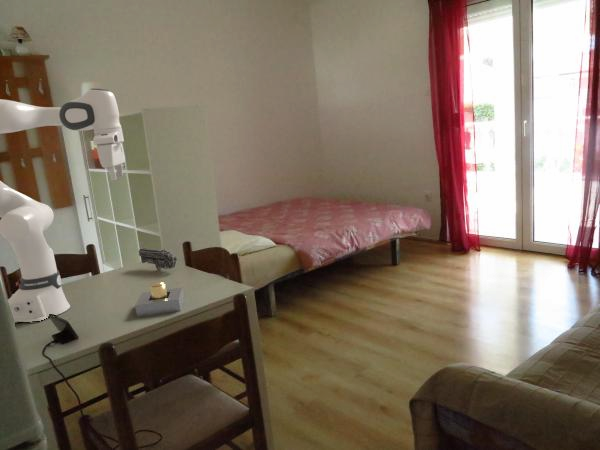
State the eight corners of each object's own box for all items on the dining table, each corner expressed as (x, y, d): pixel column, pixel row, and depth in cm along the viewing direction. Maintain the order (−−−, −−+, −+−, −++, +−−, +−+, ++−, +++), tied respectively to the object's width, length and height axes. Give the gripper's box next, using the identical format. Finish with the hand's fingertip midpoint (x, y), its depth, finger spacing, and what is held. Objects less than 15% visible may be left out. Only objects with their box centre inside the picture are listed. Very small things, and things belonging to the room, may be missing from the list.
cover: (152, 310, 159) (148, 286, 157) (155, 305, 164) (151, 281, 162) (168, 308, 160) (164, 284, 158) (169, 303, 165) (166, 279, 163)
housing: (137, 319, 155) (135, 305, 154) (144, 306, 167) (141, 292, 166) (181, 313, 157) (178, 299, 156) (184, 300, 169) (182, 287, 168)
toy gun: (145, 266, 217) (142, 245, 215) (180, 271, 204) (176, 249, 201) (139, 268, 215) (136, 247, 212) (174, 274, 201) (170, 251, 199)
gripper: (107, 138, 170) (114, 176, 173) (91, 139, 150) (99, 183, 153) (125, 136, 171) (132, 174, 174) (112, 137, 151) (120, 180, 154)
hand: (117, 178), depth 163 cm, fingers open, 8 cm apart
